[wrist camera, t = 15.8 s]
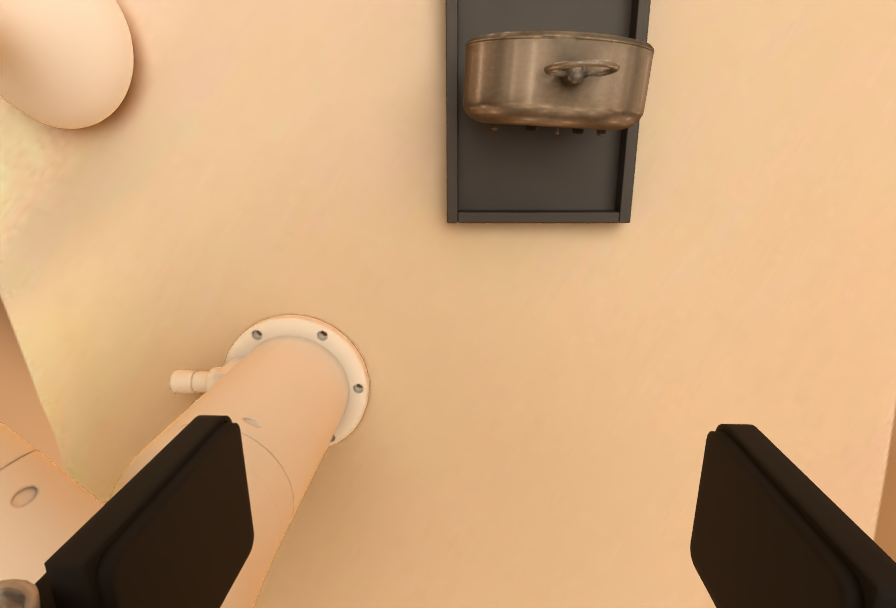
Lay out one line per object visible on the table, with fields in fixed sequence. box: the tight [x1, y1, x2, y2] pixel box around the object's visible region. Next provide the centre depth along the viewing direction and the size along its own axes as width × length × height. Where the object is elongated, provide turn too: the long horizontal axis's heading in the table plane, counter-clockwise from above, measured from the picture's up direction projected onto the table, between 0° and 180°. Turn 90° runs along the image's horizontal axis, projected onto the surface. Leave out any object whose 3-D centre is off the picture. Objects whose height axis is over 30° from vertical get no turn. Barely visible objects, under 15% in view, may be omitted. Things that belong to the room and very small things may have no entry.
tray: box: [446, 0, 651, 223], centre depth 37 cm, size 14×18×2 cm
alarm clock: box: [463, 31, 654, 136], centre depth 30 cm, size 11×5×16 cm, turn 87°
